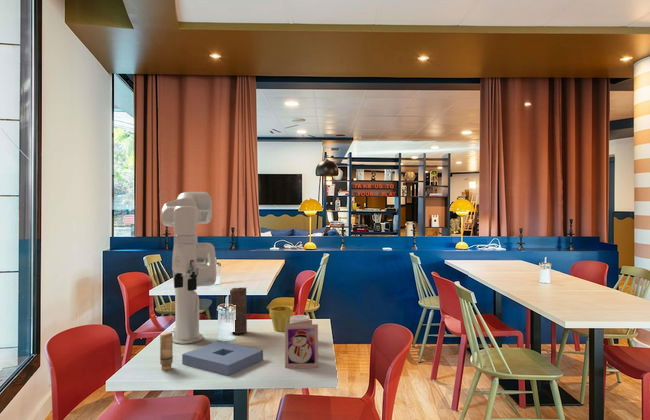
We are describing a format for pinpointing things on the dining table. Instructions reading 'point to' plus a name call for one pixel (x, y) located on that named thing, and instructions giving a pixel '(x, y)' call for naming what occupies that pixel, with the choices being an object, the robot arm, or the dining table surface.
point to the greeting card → (301, 345)
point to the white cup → (298, 318)
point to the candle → (239, 308)
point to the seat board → (222, 357)
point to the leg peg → (166, 350)
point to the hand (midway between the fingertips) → (185, 288)
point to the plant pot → (280, 317)
